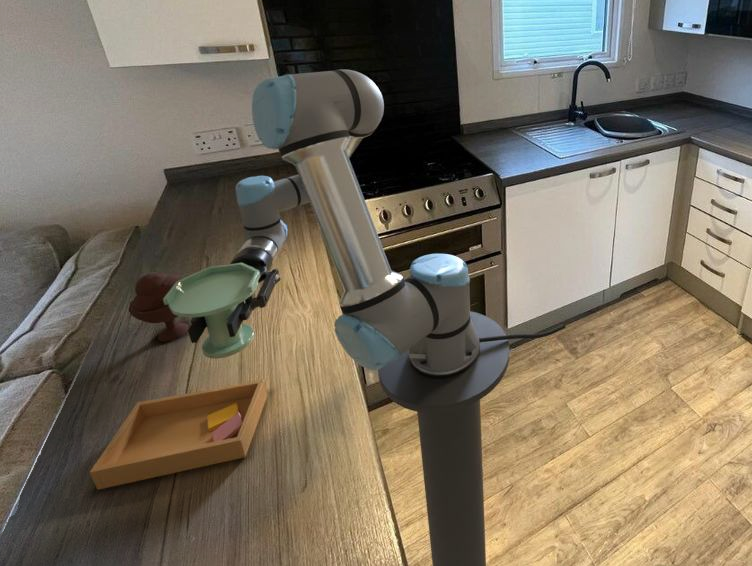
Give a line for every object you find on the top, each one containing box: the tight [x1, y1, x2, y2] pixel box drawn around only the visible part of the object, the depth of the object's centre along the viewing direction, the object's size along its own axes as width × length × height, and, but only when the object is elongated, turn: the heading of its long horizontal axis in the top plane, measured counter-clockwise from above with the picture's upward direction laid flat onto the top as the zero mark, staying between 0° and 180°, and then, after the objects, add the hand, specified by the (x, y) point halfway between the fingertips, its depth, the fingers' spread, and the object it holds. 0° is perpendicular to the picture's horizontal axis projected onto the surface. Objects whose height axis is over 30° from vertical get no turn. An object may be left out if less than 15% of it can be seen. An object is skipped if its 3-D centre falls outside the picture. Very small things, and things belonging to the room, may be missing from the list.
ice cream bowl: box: [128, 271, 190, 343], centre depth 95 cm, size 11×11×15 cm
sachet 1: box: [207, 403, 239, 432], centre depth 76 cm, size 4×3×1 cm
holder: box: [89, 378, 269, 490], centre depth 73 cm, size 20×13×4 cm, turn 106°
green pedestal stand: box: [163, 263, 260, 360], centre depth 80 cm, size 13×13×13 cm
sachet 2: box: [212, 412, 243, 442], centre depth 73 cm, size 4×3×1 cm
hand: (211, 333), depth 76 cm, fingers closed on green pedestal stand, 5 cm apart
